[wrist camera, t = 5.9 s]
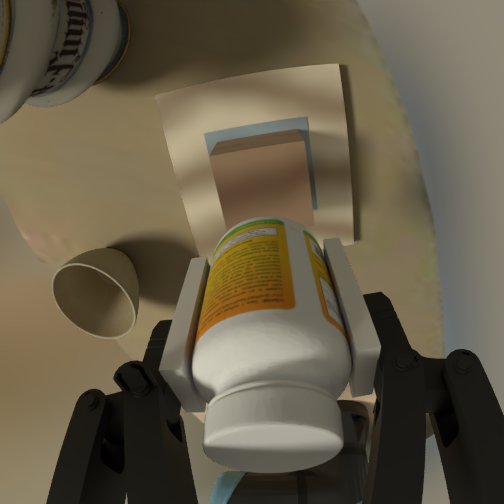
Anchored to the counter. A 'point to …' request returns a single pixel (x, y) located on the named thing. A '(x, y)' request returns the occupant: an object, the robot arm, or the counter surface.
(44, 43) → the apothecary jar
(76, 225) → the counter surface
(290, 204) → the walnut block
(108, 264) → the flower pot
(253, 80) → the tan flat sheet
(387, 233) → the counter surface
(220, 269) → the supplement bottle
